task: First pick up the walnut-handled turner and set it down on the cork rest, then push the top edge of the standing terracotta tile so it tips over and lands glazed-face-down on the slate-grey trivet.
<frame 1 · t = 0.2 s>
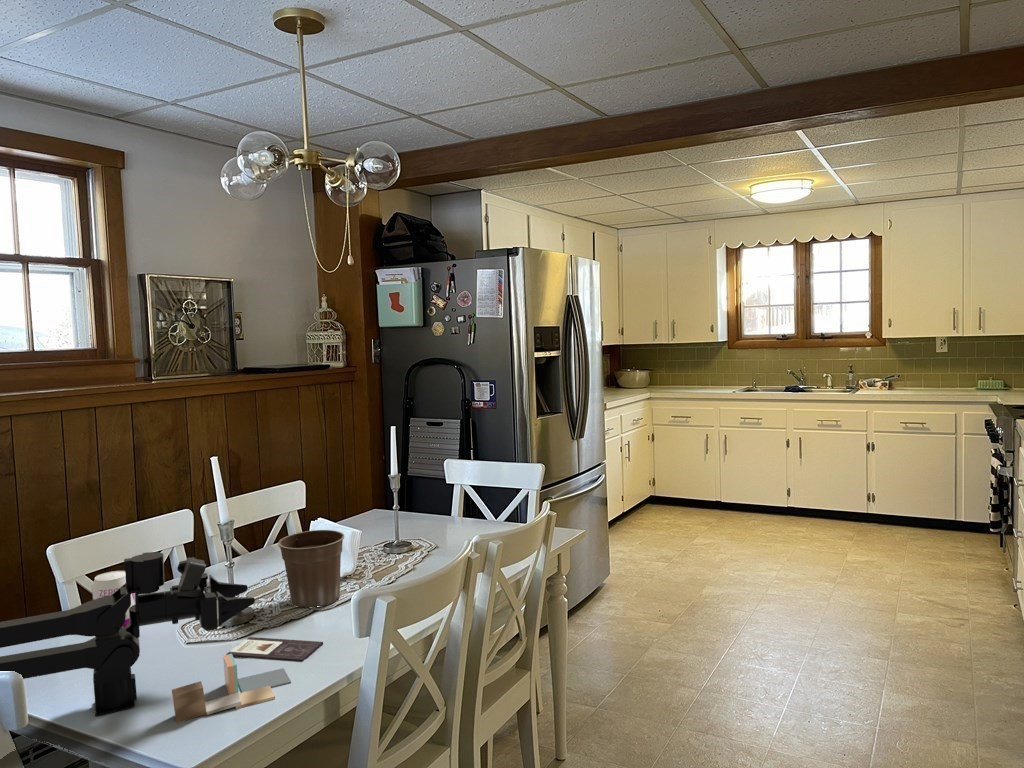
hand: (250, 593, 154), 16 cm above the table, tool horizontal, fingers open, 9 cm apart
plant pot: (315, 601, 196), on the table
chocolate bar: (275, 653, 166), on the table
rest: (253, 698, 145), on the table
turner: (190, 714, 139), on the table, touching rest
supplement can: (117, 640, 175), on the table
trivet: (264, 682, 151), on the table
tile: (231, 690, 148), on the table
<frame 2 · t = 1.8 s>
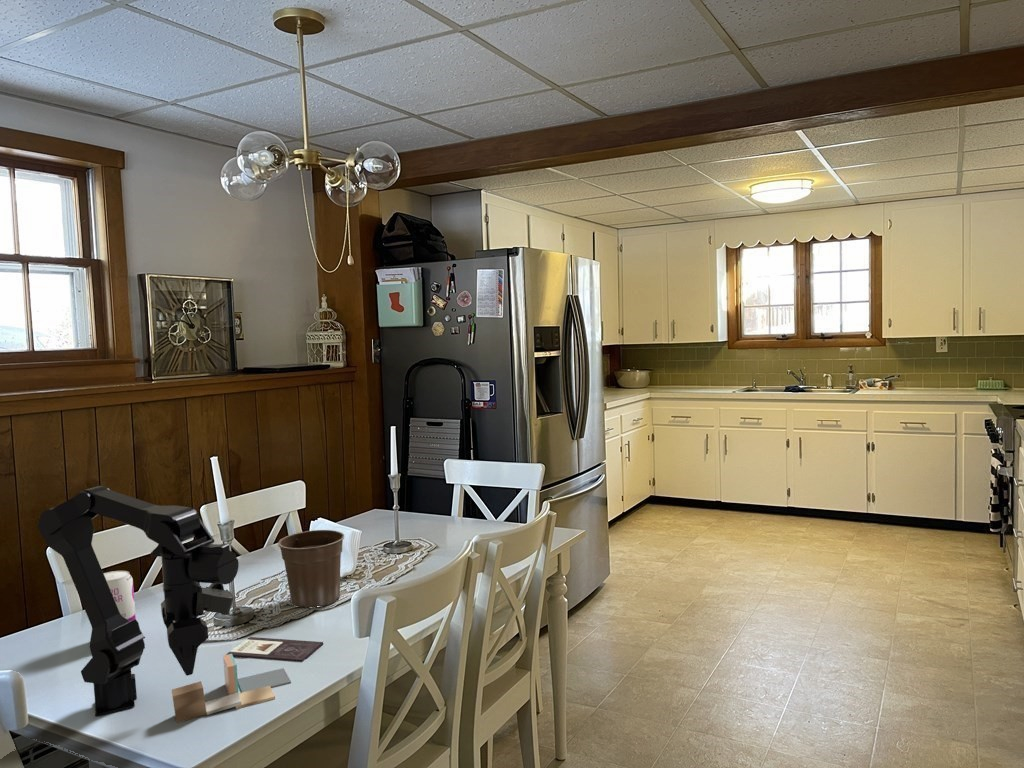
hand: (186, 664, 138), 9 cm above the table, tool pointing down, fingers open, 9 cm apart
nothing on the table moved.
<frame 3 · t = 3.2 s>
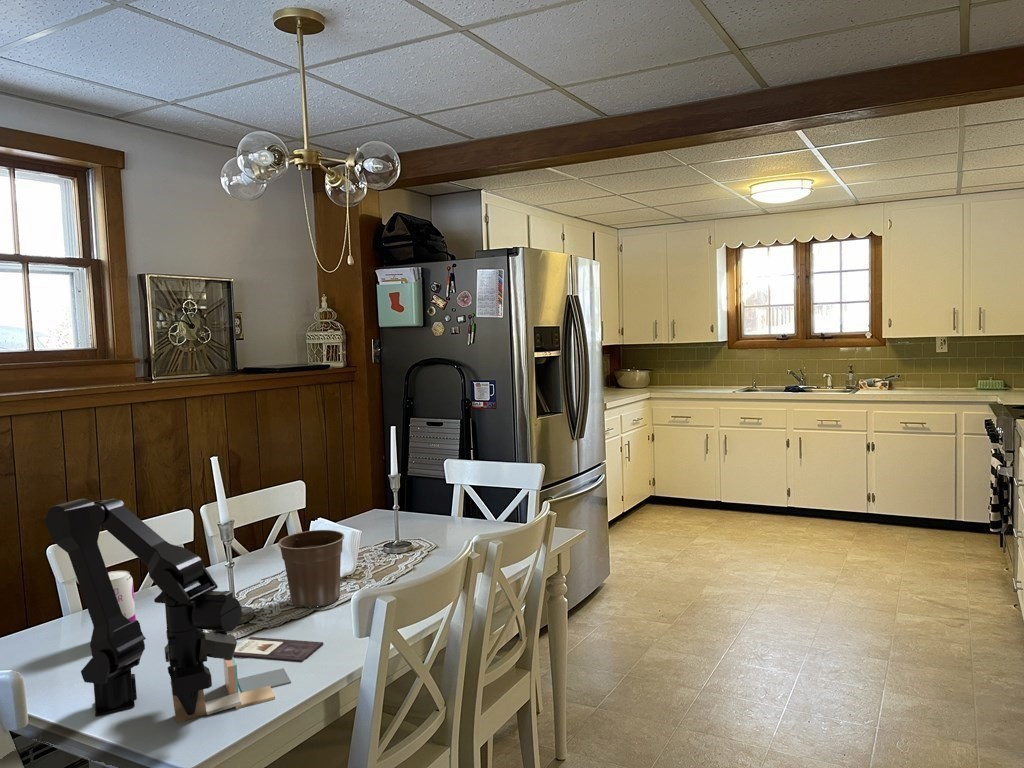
hand: (190, 710, 139), 1 cm above the table, tool pointing down, fingers closed on turner, 3 cm apart
turner: (190, 714, 139), on the table, touching gripper, rest
everything else where it was.
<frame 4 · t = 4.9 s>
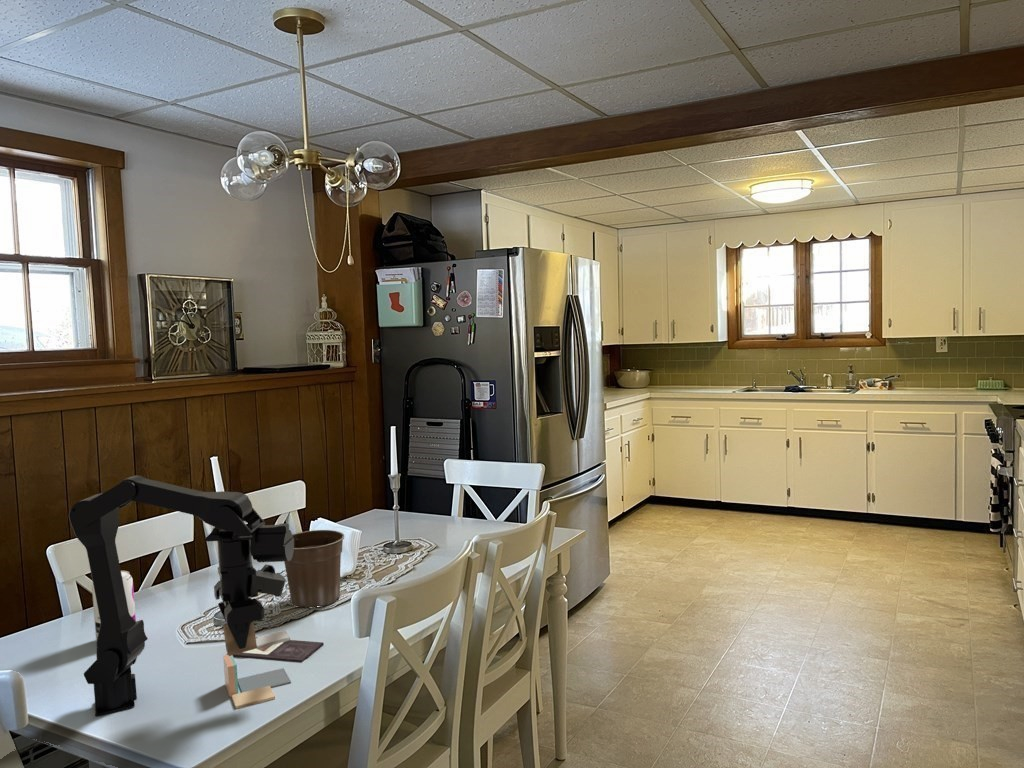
hand: (241, 645, 143), 11 cm above the table, tool pointing down, fingers closed on turner, 3 cm apart
turner: (241, 649, 143), point 10 cm above the table, touching gripper
everything else where it was.
when the fingers open (3 cm above the table, at t = 6.5 s): turner stays where it is, point 2 cm above the table.
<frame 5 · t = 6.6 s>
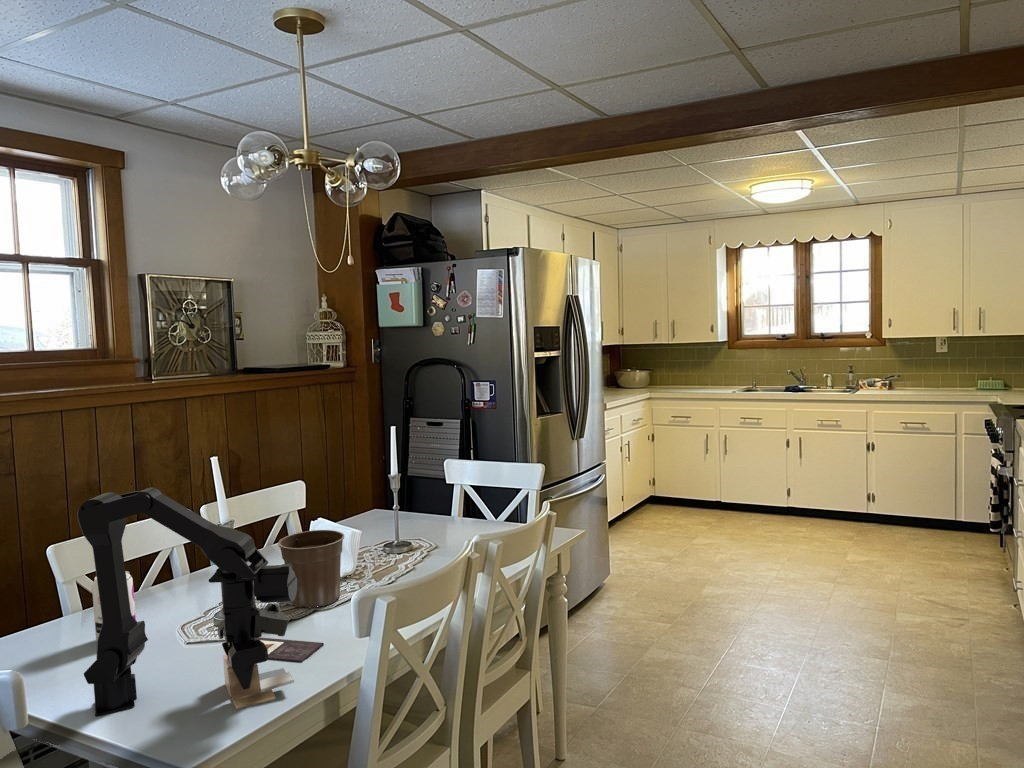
hand: (244, 685, 144), 3 cm above the table, tool pointing down, fingers open, 3 cm apart
turner: (245, 692, 144), point 2 cm above the table
tile: (232, 689, 149), on the table, touching gripper
everything else where it was.
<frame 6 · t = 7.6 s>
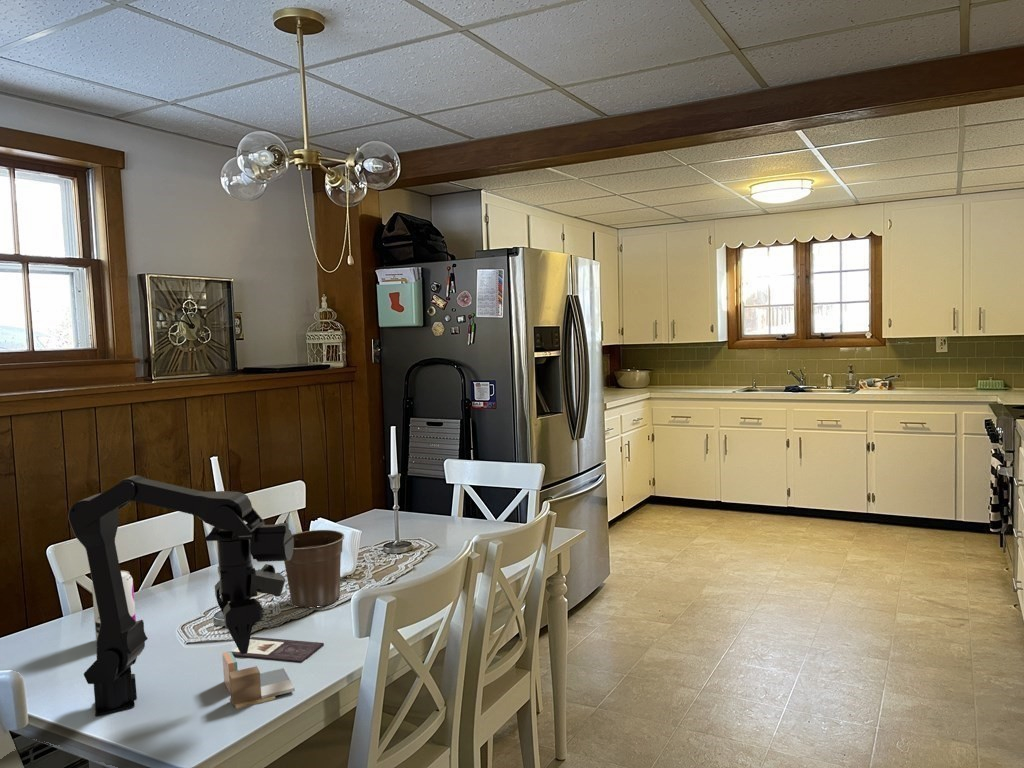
hand: (240, 644, 143), 11 cm above the table, tool pointing down, fingers open, 9 cm apart
turner: (246, 698, 144), point 1 cm above the table, touching rest
tile: (231, 687, 150), on the table
everything else where it was.
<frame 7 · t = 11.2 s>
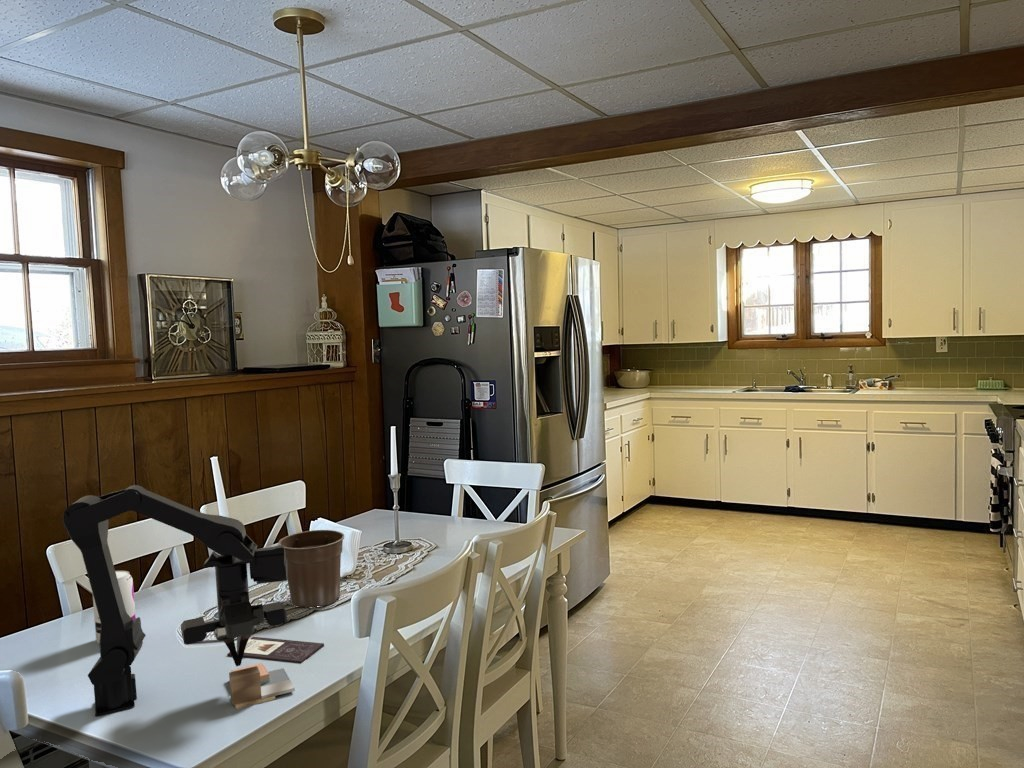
hand: (237, 665, 149), 5 cm above the table, tool pointing down, fingers closed
tile: (234, 680, 150), point 1 cm above the table, tilted 90°, touching trivet
everything else where it was.
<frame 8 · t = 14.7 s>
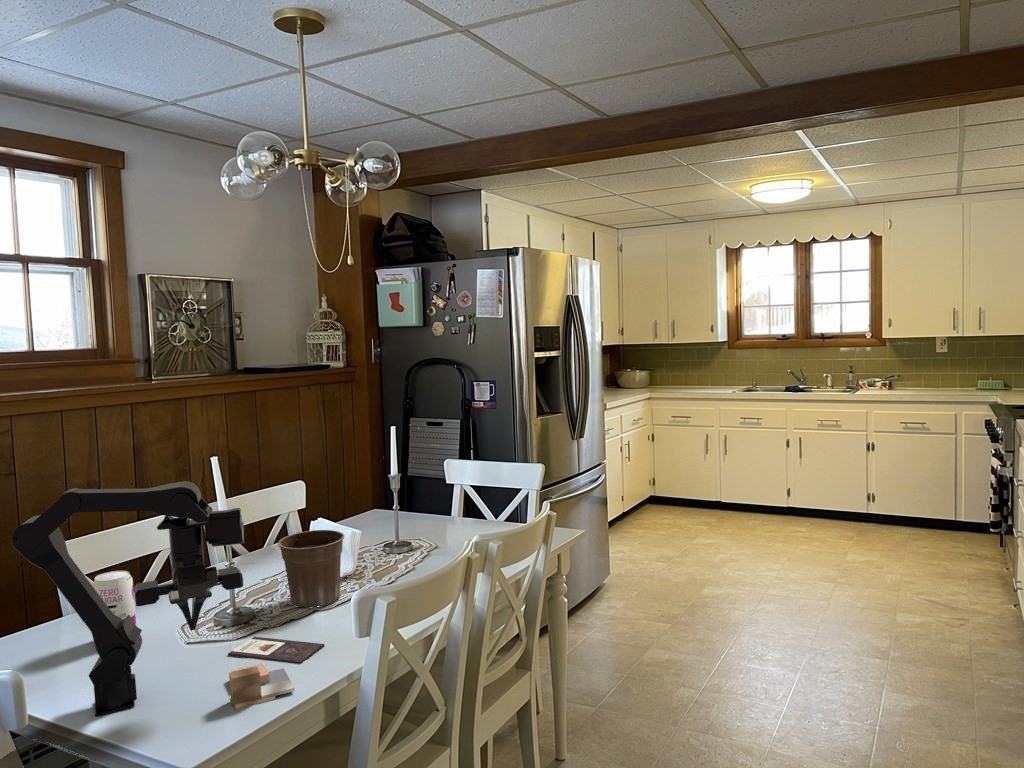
hand: (192, 629, 147), 12 cm above the table, tool pointing down, fingers closed
nothing on the table moved.
at the end: tile tilted 90°; tile touching trivet; turner inside the target area (0.4 cm from its centre), point 0.6 cm above the table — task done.
